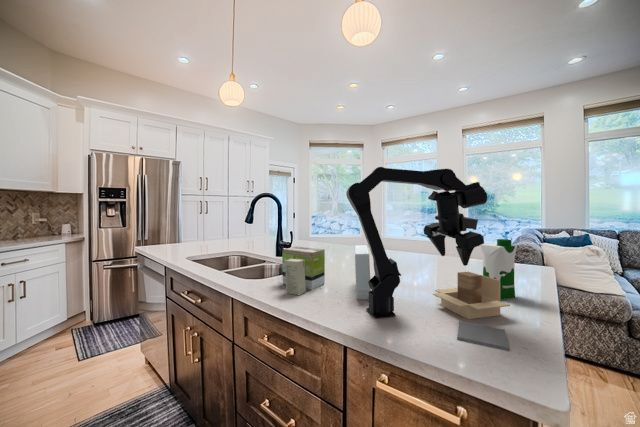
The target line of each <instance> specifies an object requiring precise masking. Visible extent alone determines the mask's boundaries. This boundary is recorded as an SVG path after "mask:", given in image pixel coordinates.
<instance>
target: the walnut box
mask: <svg viewBox="0 0 640 427" xmlns="http://www.w3.org/2000/svg"><path fill="white" fill-rule="evenodd" d="M482 275H483V274H479V275H478V273H476V274H475V272H472V273H471V271H461V272H457V288H458V300H460V301H463V302H465V303H467V304H475V303H482Z"/></svg>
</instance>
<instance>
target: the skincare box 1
mask: <svg viewBox="0 0 640 427" xmlns="http://www.w3.org/2000/svg"><path fill="white" fill-rule="evenodd" d="M285 269H286V284H285V294H286V293H287V294H291V295H296V296H300V295H303V294H305V293H306V292H307V291H306V290H307V289H306V286H305V260H300V259H289V260H285Z"/></svg>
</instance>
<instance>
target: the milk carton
mask: <svg viewBox="0 0 640 427" xmlns="http://www.w3.org/2000/svg"><path fill="white" fill-rule="evenodd" d="M480 248H481V252H482V275H483V276H486V277H490V278H493V279H497V280H500V301H503V300H510V299H515V298H516V290H515V289H516V288H515V259H516V258H515V257H516V253H517V249H518V246H517V245H513V244H512V239H508V238H507V239H506V238H498V239H497V240H496V243H495V242H494V243H484V244H482V245H480Z"/></svg>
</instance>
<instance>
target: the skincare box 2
mask: <svg viewBox="0 0 640 427" xmlns="http://www.w3.org/2000/svg"><path fill="white" fill-rule="evenodd" d="M354 247H355V250H354V251H355V252H354V265H355V266H354V267H355V268H354V269H355V273H354V274H355V289H356V290H355V291H356V293H355V294H356V300H366V301H367V300H368V301H369V291H372V290H371V288H370V287H369V284H368V281H369V280H370V279H371V271H370V270H371V269H370V268H371V266H370V264H371V263H370V252H369V246H368V244H367V245H366V244H365V245H364V244H361V245H360V244H358V245H357V244H356V245H355V246H354Z"/></svg>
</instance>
